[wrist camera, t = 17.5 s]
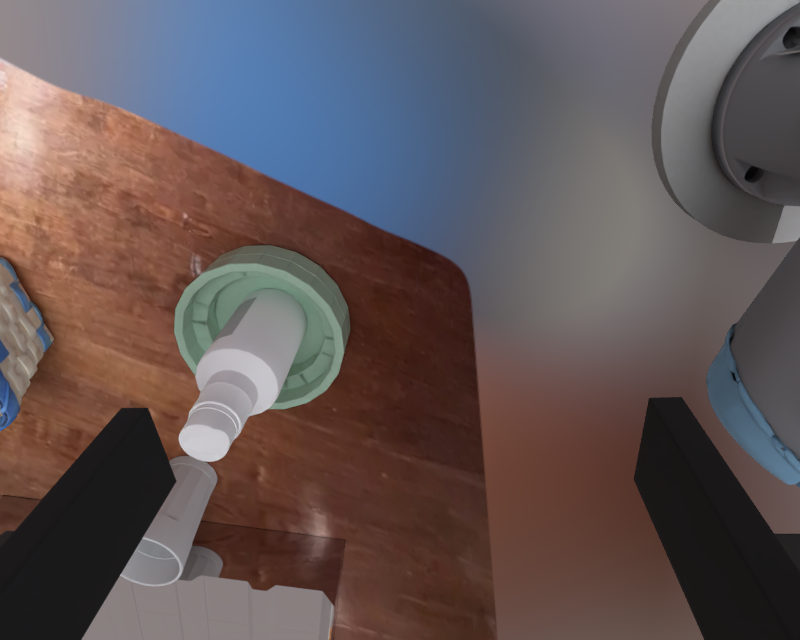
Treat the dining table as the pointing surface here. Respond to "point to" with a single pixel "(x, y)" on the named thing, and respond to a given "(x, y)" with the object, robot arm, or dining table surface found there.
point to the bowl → (268, 269)
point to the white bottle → (243, 371)
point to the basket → (17, 342)
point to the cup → (173, 525)
